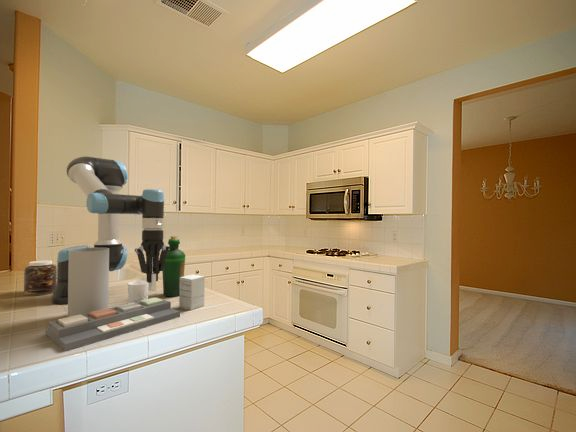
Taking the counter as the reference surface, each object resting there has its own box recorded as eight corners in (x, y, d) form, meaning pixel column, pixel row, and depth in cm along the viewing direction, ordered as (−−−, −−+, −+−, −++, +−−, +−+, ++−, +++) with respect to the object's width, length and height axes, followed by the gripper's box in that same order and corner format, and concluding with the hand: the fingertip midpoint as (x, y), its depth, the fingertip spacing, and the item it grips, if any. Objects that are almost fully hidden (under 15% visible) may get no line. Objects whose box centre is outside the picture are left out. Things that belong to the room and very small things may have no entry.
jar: (51, 288, 146) (52, 258, 146) (59, 292, 139) (60, 261, 139) (20, 293, 137) (21, 261, 137) (27, 297, 130) (28, 264, 130)
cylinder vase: (101, 308, 117) (102, 246, 117) (113, 315, 109) (114, 249, 109) (63, 316, 107) (64, 249, 107) (73, 324, 99) (74, 252, 99)
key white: (58, 324, 90) (58, 319, 90) (80, 319, 95) (80, 314, 95) (64, 329, 87) (64, 323, 87) (87, 323, 91) (87, 318, 91)
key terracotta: (89, 316, 97) (89, 312, 97) (108, 312, 102) (108, 307, 102) (96, 321, 93) (96, 316, 93) (116, 316, 98) (116, 311, 98)
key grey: (116, 310, 104) (116, 306, 104) (133, 306, 109) (133, 302, 109) (124, 314, 100) (124, 309, 100) (141, 309, 105) (141, 305, 105)
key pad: (45, 334, 91) (46, 320, 91) (154, 307, 120) (154, 296, 120) (65, 351, 80) (65, 335, 80) (179, 316, 109) (179, 305, 109)
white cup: (139, 310, 115) (140, 285, 115) (122, 308, 117) (123, 284, 117) (152, 304, 123) (153, 281, 123) (136, 303, 125) (137, 279, 125)
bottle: (189, 294, 140) (190, 236, 140) (170, 299, 131) (171, 237, 131) (175, 290, 146) (176, 235, 146) (156, 295, 137) (157, 236, 137)
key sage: (140, 304, 111) (140, 300, 111) (155, 301, 116) (155, 297, 116) (148, 308, 107) (148, 303, 107) (163, 304, 112) (163, 300, 112)
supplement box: (192, 302, 126) (193, 274, 126) (204, 305, 123) (205, 276, 123) (178, 307, 120) (179, 277, 120) (191, 310, 116) (191, 279, 116)
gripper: (140, 230, 104) (140, 295, 104) (173, 229, 114) (173, 288, 114) (130, 229, 108) (130, 292, 108) (163, 228, 119) (162, 285, 119)
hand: (152, 290), depth 111 cm, fingers closed
